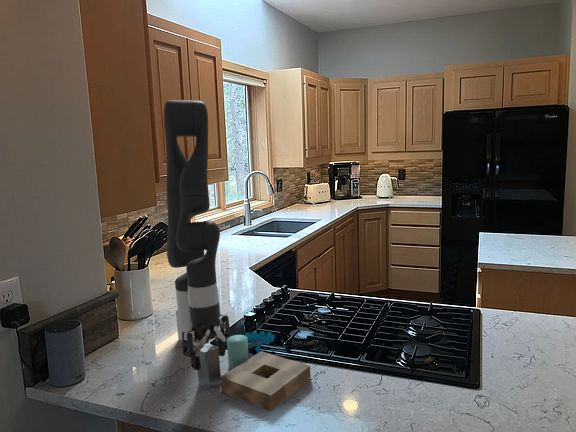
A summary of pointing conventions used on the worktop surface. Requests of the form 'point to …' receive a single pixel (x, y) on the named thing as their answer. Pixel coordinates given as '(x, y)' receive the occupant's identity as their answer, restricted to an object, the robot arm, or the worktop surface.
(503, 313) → the worktop surface
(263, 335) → the gear
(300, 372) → the socket block
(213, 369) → the square peg
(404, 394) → the worktop surface
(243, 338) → the round peg
